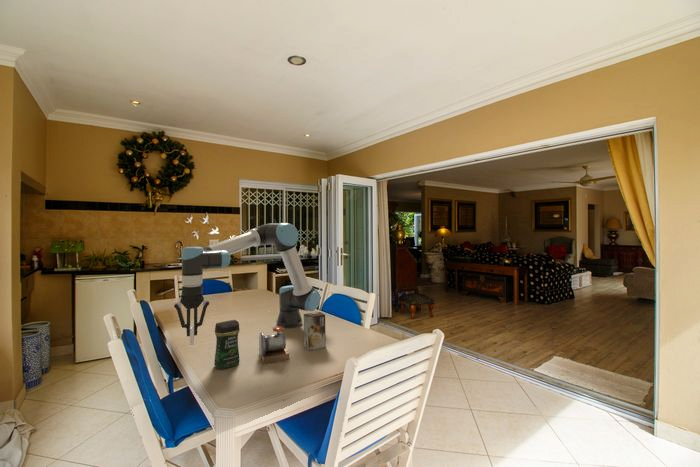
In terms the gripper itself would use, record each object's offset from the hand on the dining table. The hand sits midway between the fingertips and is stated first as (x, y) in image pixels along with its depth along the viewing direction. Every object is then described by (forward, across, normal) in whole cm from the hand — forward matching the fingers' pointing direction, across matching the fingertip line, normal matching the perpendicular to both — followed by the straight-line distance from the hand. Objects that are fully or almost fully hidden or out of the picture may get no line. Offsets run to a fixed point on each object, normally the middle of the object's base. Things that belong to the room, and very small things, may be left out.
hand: (192, 343), depth 128 cm
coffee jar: (+11, -13, 0) cm, 17 cm away
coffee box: (+11, -53, -4) cm, 55 cm away
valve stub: (+11, -32, 0) cm, 34 cm away
